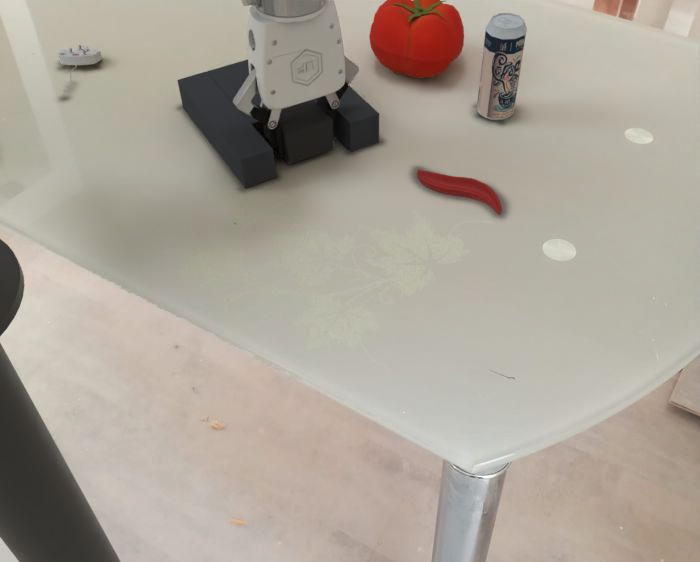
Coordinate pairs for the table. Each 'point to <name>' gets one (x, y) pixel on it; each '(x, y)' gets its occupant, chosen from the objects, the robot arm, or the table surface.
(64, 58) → the game controller
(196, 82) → the grey pad
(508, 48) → the beer can
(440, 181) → the cayenne pepper
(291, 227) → the table surface
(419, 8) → the tomato
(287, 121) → the black puzzle block
